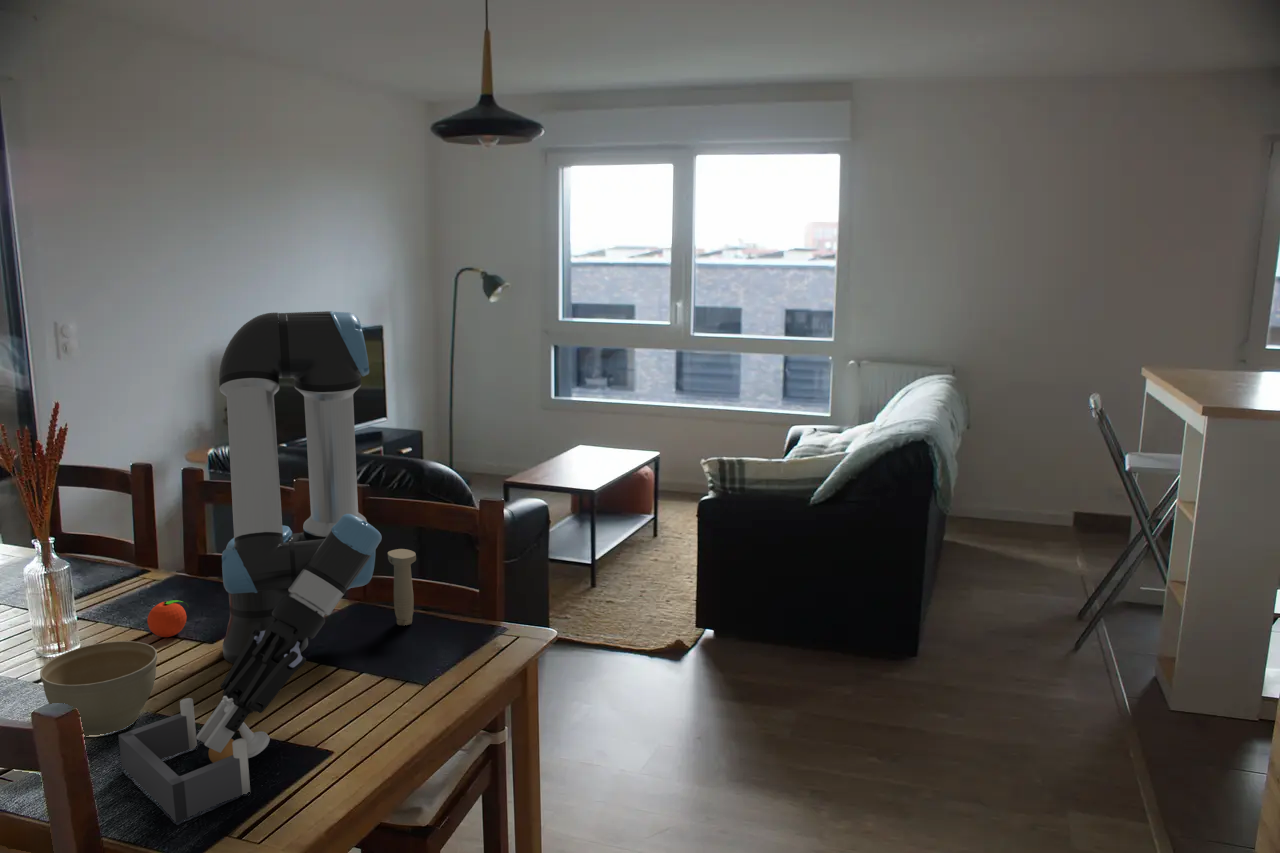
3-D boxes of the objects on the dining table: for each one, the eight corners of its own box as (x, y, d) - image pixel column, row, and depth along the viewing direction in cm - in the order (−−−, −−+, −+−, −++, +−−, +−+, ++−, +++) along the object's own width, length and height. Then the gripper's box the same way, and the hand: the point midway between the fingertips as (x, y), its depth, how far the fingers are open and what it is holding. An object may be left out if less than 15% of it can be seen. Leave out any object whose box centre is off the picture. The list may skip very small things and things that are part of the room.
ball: (238, 753, 141) (213, 771, 138) (224, 731, 140) (200, 748, 138) (246, 753, 138) (221, 771, 135) (232, 731, 138) (207, 748, 135)
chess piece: (245, 737, 143) (216, 688, 139) (274, 731, 142) (246, 682, 138) (232, 761, 138) (202, 712, 134) (262, 755, 138) (233, 705, 134)
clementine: (181, 624, 189) (178, 591, 188) (200, 632, 185) (197, 598, 184) (142, 637, 182) (138, 603, 181) (160, 646, 178) (156, 611, 177)
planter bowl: (82, 761, 138) (74, 694, 136) (27, 731, 147) (19, 667, 145) (183, 716, 152) (177, 654, 150) (128, 691, 160) (122, 632, 158)
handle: (402, 631, 186) (399, 560, 183) (386, 622, 191) (382, 552, 188) (423, 624, 190) (420, 554, 187) (406, 615, 194) (403, 547, 191)
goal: (194, 744, 143) (189, 696, 142) (252, 793, 131) (248, 741, 129) (122, 772, 136) (116, 722, 134) (176, 826, 123) (171, 772, 122)
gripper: (349, 630, 141) (251, 774, 132) (299, 604, 151) (205, 736, 142) (315, 607, 137) (211, 755, 128) (265, 582, 146) (165, 717, 138)
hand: (208, 744), depth 135 cm, fingers closed on chess piece, 2 cm apart
